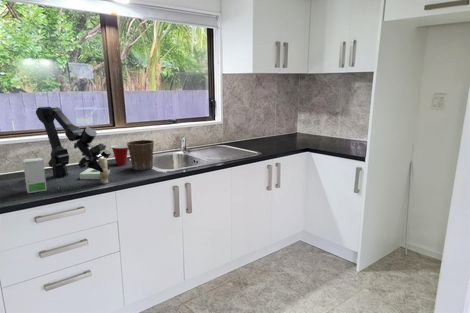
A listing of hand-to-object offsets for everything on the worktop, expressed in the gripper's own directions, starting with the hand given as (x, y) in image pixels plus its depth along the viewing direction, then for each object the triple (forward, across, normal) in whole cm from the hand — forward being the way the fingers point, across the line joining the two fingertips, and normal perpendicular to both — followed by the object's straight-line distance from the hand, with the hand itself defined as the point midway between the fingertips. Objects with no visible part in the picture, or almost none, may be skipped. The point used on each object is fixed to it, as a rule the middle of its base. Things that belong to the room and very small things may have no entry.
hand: (105, 170), depth 170 cm
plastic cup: (-9, +37, +18) cm, 42 cm away
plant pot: (+5, +32, +5) cm, 33 cm away
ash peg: (+4, 0, +6) cm, 7 cm away
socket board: (-6, +9, +15) cm, 19 cm away
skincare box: (-13, -20, +22) cm, 33 cm away
